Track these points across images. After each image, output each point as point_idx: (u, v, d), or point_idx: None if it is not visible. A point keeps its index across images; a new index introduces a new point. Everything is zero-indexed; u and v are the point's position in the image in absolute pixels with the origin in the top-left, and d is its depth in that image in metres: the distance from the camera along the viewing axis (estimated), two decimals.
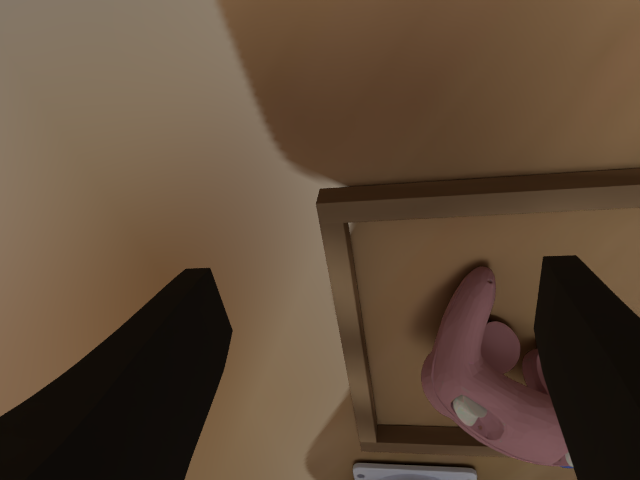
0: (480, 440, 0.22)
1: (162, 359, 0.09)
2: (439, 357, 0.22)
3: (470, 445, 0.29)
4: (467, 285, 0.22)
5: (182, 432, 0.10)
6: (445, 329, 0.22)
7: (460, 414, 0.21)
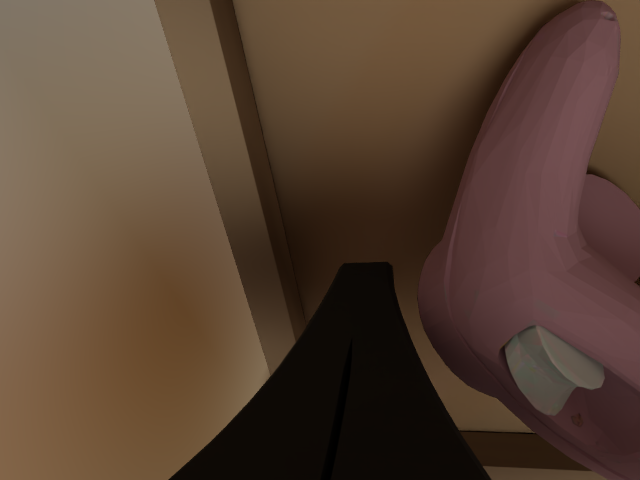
0: (574, 454, 0.08)
1: None
2: (465, 232, 0.08)
3: (494, 466, 0.16)
4: (539, 45, 0.08)
5: None
6: (481, 160, 0.08)
7: (526, 382, 0.08)
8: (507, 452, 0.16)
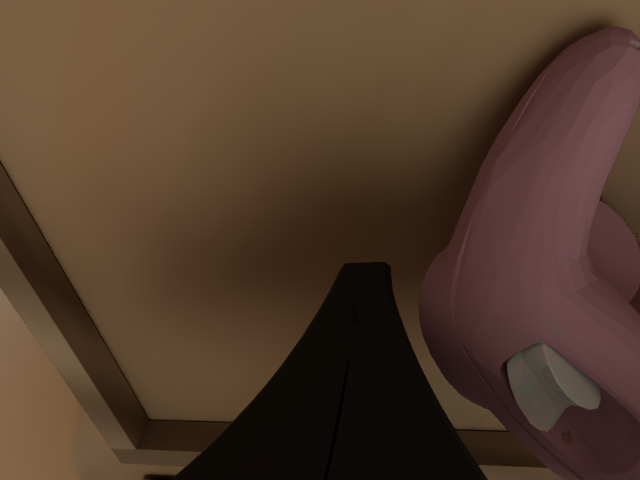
0: (559, 470, 0.08)
1: None
2: (477, 244, 0.08)
3: None
4: (565, 65, 0.08)
5: None
6: (498, 174, 0.08)
7: (524, 398, 0.08)
8: None
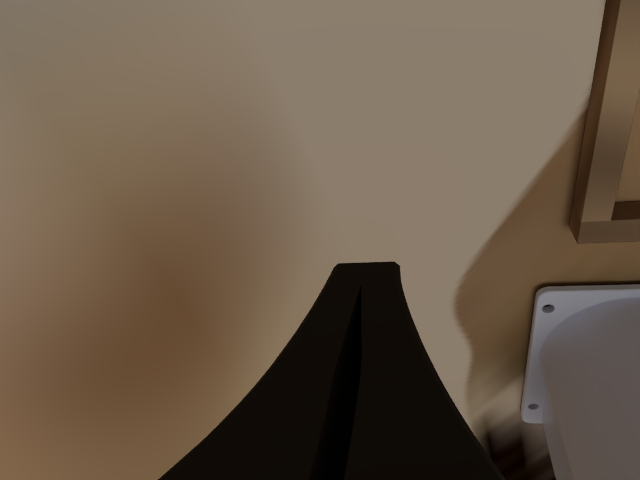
0: None
1: (349, 360, 0.09)
2: None
3: None
4: None
5: None
6: None
7: None
8: None
